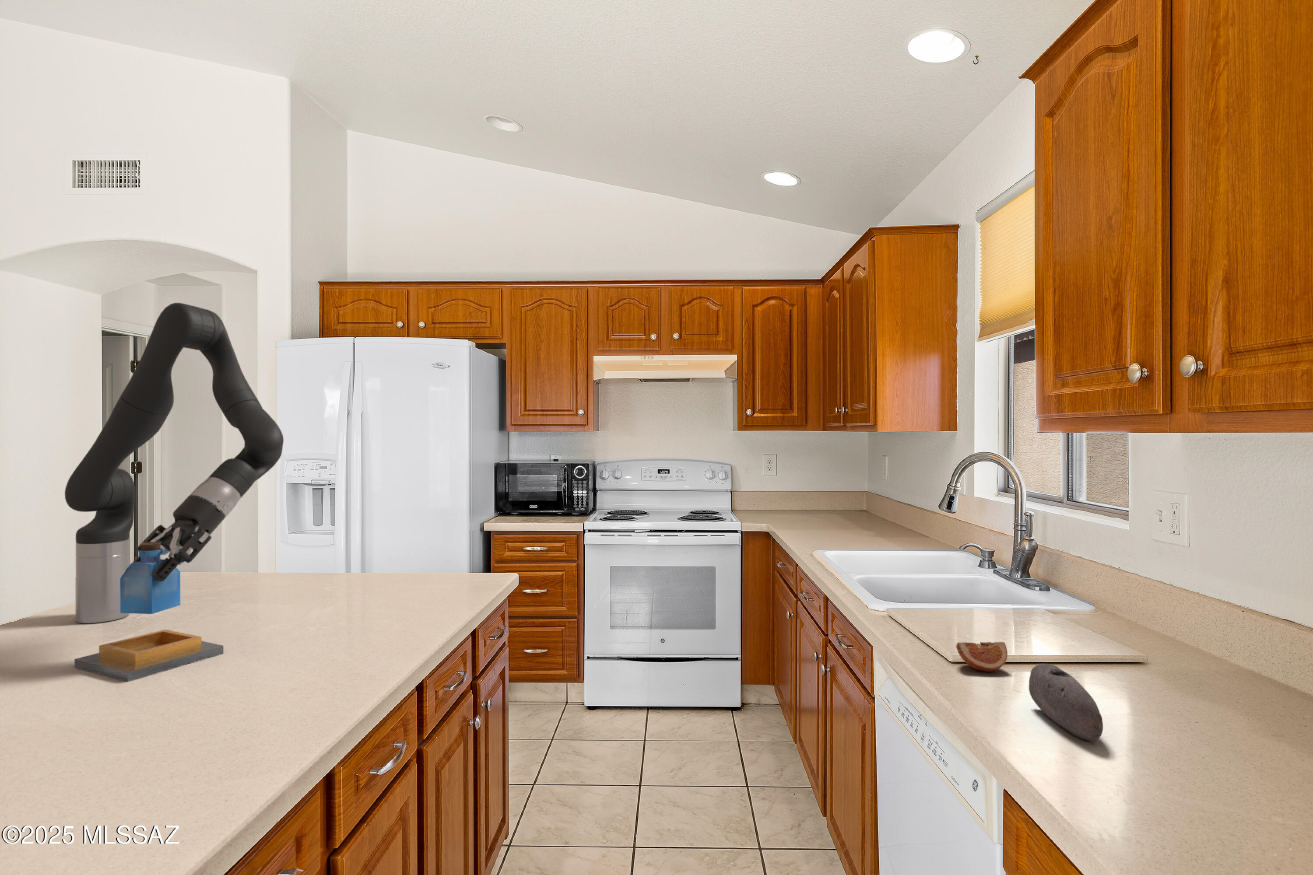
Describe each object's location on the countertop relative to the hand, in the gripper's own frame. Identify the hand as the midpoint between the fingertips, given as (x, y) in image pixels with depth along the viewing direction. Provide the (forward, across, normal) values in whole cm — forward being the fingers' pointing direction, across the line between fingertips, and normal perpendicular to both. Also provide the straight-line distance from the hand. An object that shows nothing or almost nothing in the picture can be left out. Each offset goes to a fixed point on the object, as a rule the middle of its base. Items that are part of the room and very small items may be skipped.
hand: (143, 576), depth 122 cm
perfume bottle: (+4, 0, +6) cm, 7 cm away
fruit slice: (-31, +137, +56) cm, 151 cm away
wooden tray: (+10, 0, +12) cm, 15 cm away
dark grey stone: (-17, +148, +41) cm, 154 cm away
